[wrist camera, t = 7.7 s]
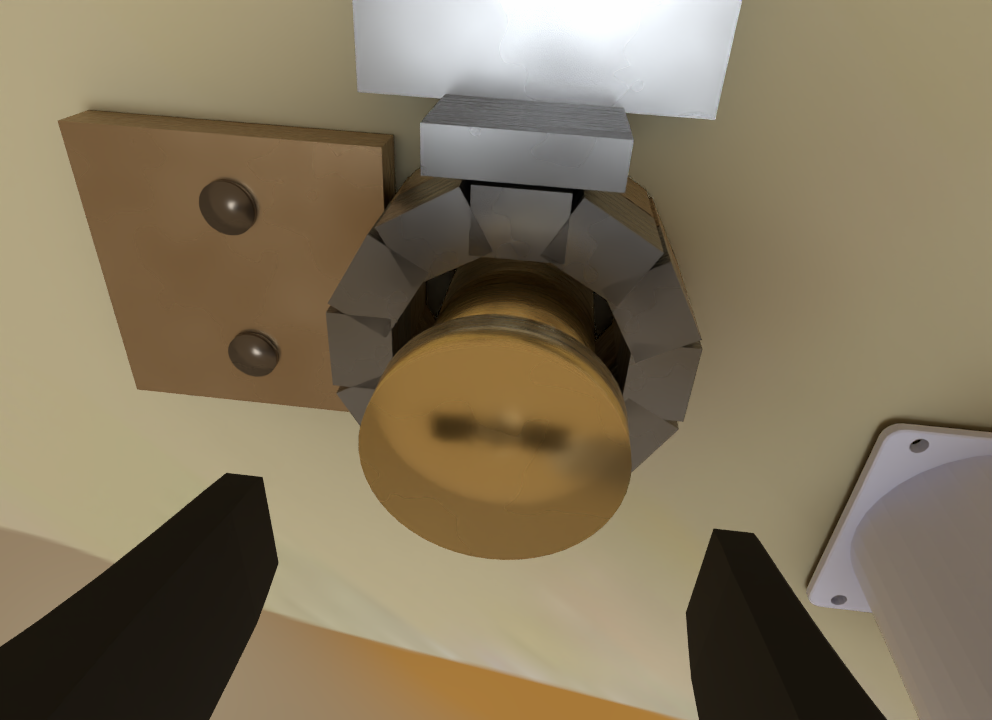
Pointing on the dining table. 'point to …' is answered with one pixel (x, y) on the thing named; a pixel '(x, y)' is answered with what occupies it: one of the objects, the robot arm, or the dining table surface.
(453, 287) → the pin
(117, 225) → the brown riveted plate
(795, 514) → the dining table surface
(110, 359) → the dining table surface
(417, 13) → the dark piece
